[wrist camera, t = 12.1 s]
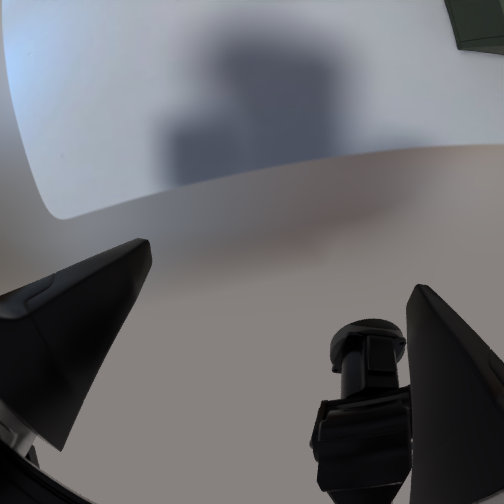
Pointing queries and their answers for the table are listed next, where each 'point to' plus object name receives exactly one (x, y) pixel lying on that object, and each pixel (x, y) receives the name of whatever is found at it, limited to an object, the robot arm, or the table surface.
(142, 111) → the table surface
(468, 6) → the bin
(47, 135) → the table surface
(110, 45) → the table surface
